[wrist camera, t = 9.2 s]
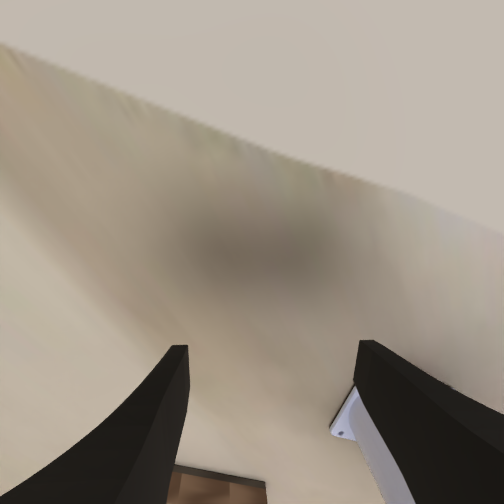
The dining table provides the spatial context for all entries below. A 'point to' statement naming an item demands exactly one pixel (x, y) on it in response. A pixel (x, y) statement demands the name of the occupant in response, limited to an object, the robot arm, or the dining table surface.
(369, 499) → the dining table surface
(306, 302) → the dining table surface
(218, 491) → the walnut block
